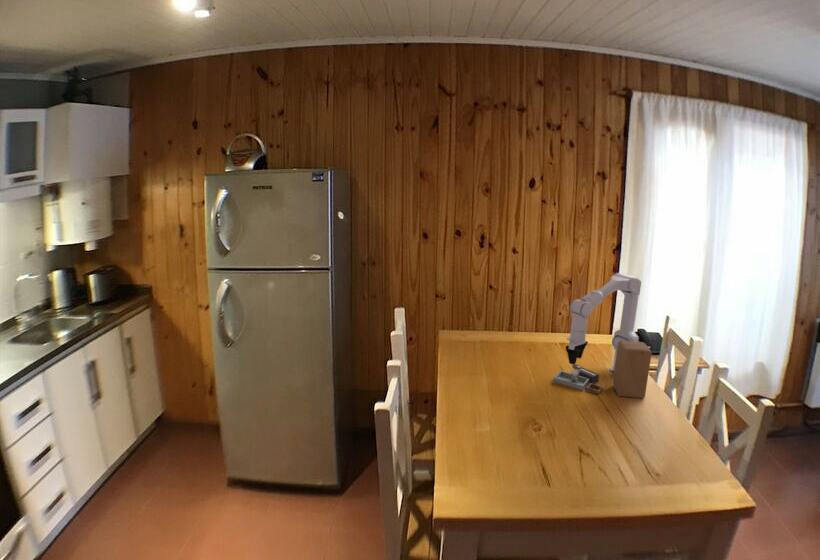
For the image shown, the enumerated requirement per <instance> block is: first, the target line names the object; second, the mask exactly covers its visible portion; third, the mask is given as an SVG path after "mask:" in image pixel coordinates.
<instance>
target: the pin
mask: <svg viewBox="0 0 820 560" xmlns="http://www.w3.org/2000/svg"><path fill="white" fill-rule="evenodd" d="M571 367H572V372H571V374H572V376H571V382H573V383H578V378H579V372H580V369H581V367H582V366H581V365H579V364H576V363H575V365H574V364H571Z"/></svg>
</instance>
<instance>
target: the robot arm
mask: <svg viewBox="0 0 820 560" xmlns="http://www.w3.org/2000/svg"><path fill="white" fill-rule="evenodd" d="M641 287H642V280H641V279H639V277H637V276H631V275H627V274H623V273H621V272H616V273H615V274H612V276H611V277H610V279H609V281H608V282H607V283H606V284H604V285H602V287H600V288H599V289H598V290H594V289H593V290H591V291H589V293H587V294H586V295H585V296H583V297H581V298H580V299H575V300H573V301H572V302H571V303H570V305H569V310H570V313H571V314H570V315H571V326H570V335H569V336H568V337H566V340H567V341H568V342H569V343H568V345H566V346H565V351H566V353H567V356H568V364H571V365H575V364H576V363H577V359H581V358H582V356H583V354H584V350H585V349H586V347H587V345H588V343H589V342H588V341H586V336H587V326H588V317H589V316H590V315H591V314H592V311H593V310H594V309H595V308H596V307H597V306H599V305H600V304H602V303H603V301H604V298H605V297H607V296H610V294H612V293H614V292H616V291H620V292H621V293H622V294H623V295H624V299H623V303H622V304H623V305H622V312H621V319H620V326H619V329H618V330H615V332H614V334H613V337H612V339H611V345H612V347H613V350H615V351H614V359H613V365H612V366H611V368H609V370H610V371H611V372H614V371H615V363H616V356H617V348H618V342H619V341H632V342H640V341H639V338H640V337H639V336H638V334H637V333H636V332H635V323H636V316H637V310H638V305H639V304H638V303H639V296H640V293H641V289H642V288H641Z"/></svg>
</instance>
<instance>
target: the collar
mask: <svg viewBox="0 0 820 560" xmlns="http://www.w3.org/2000/svg"><path fill="white" fill-rule="evenodd" d="M603 389H604V386H602V385H600V384H596V383H594V384H592V383H589V384H588V385H587V387H586V388H585V391H586V392H589V393H592V394H596V395H600V394H601V393H602V391H603Z"/></svg>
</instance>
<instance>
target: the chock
mask: <svg viewBox="0 0 820 560" xmlns="http://www.w3.org/2000/svg"><path fill="white" fill-rule="evenodd" d="M579 376H582V377H585V378H589V384H590V383H592V384H596V383H598V382H599V379H600V374H599V373H597V372H595V371H592V370H590V369H587V368H586V367H583V366H581V369H580V372H579Z"/></svg>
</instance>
